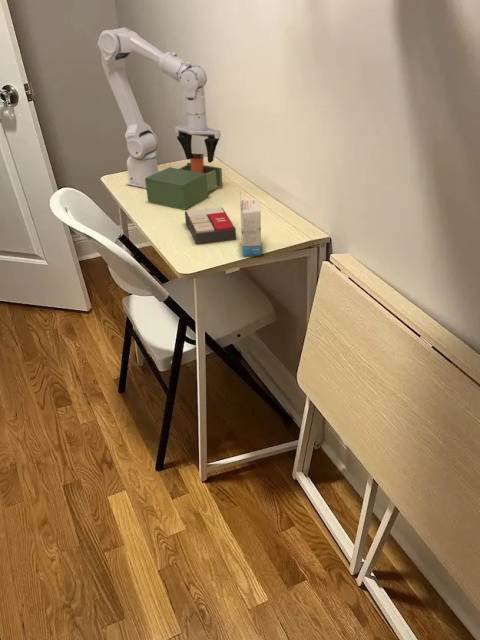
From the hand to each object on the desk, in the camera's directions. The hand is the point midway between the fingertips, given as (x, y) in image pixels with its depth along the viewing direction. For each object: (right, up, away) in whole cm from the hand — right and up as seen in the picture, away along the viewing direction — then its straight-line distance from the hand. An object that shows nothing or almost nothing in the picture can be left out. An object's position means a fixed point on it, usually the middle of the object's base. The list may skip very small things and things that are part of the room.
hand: (199, 160), depth 177 cm
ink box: (+18, -35, -29) cm, 49 cm away
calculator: (+6, -28, -20) cm, 35 cm away
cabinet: (-7, -12, 0) cm, 14 cm away
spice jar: (-2, -5, +6) cm, 8 cm away
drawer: (-1, -5, +8) cm, 10 cm away
